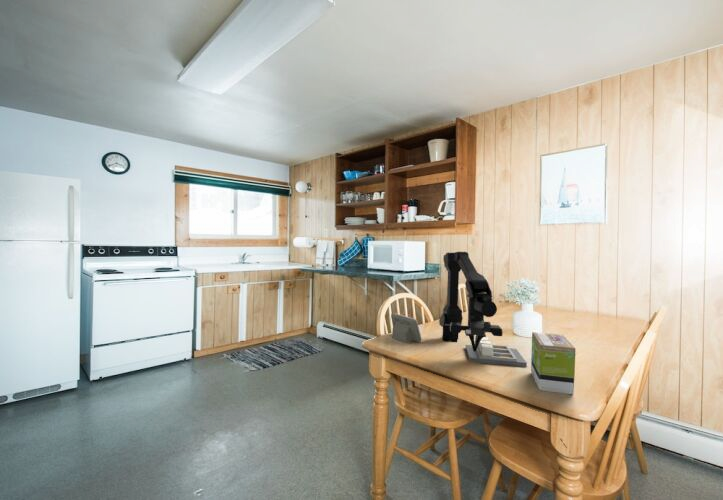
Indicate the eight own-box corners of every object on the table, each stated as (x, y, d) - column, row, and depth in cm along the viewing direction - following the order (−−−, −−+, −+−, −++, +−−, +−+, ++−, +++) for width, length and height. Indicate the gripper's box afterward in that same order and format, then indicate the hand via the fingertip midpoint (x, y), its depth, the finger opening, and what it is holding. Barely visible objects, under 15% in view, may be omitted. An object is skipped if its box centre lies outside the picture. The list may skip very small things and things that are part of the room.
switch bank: (469, 361, 132) (470, 355, 131) (465, 348, 147) (465, 342, 147) (526, 366, 128) (526, 360, 128) (516, 352, 143) (516, 346, 143)
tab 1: (478, 349, 142) (478, 339, 141) (477, 346, 145) (477, 336, 145) (488, 349, 141) (489, 340, 141) (487, 347, 144) (487, 337, 144)
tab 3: (481, 357, 132) (482, 347, 132) (480, 354, 135) (481, 344, 135) (493, 358, 131) (493, 348, 131) (491, 355, 135) (491, 345, 134)
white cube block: (480, 353, 137) (480, 343, 137) (478, 350, 140) (479, 340, 140) (490, 354, 136) (491, 343, 136) (489, 351, 139) (489, 341, 139)
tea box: (529, 372, 123) (531, 330, 122) (561, 376, 120) (563, 333, 119) (538, 390, 108) (540, 343, 108) (574, 395, 105) (577, 347, 105)
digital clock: (423, 342, 154) (424, 319, 153) (405, 345, 150) (406, 320, 149) (403, 333, 168) (404, 311, 168) (387, 334, 164) (387, 312, 164)
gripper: (452, 313, 127) (450, 356, 128) (506, 317, 124) (504, 360, 124) (450, 307, 138) (449, 346, 139) (500, 310, 134) (498, 350, 135)
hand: (474, 351), depth 134 cm, fingers closed
